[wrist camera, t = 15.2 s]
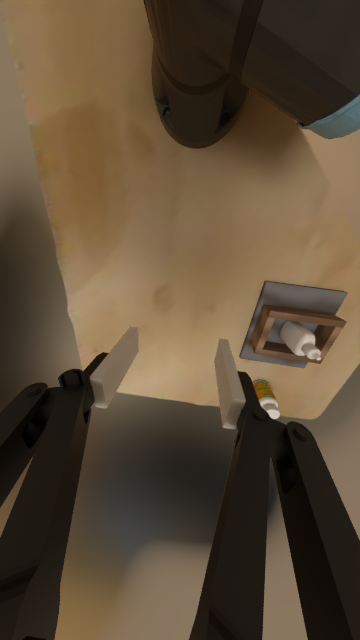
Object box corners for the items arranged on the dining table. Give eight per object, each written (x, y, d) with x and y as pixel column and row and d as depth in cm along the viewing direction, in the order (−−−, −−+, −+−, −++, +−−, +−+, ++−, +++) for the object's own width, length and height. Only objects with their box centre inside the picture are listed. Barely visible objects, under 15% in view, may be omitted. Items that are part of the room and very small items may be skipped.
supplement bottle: (266, 377, 50) (281, 406, 41) (269, 390, 52) (284, 419, 43) (248, 381, 51) (259, 409, 43) (252, 393, 53) (263, 422, 45)
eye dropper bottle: (272, 331, 42) (298, 361, 32) (291, 316, 40) (325, 342, 29) (284, 340, 43) (313, 373, 32) (303, 326, 41) (340, 355, 30)
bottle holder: (264, 280, 38) (274, 286, 33) (344, 291, 37) (366, 298, 32) (239, 356, 48) (244, 369, 43) (302, 365, 47) (314, 380, 42)
